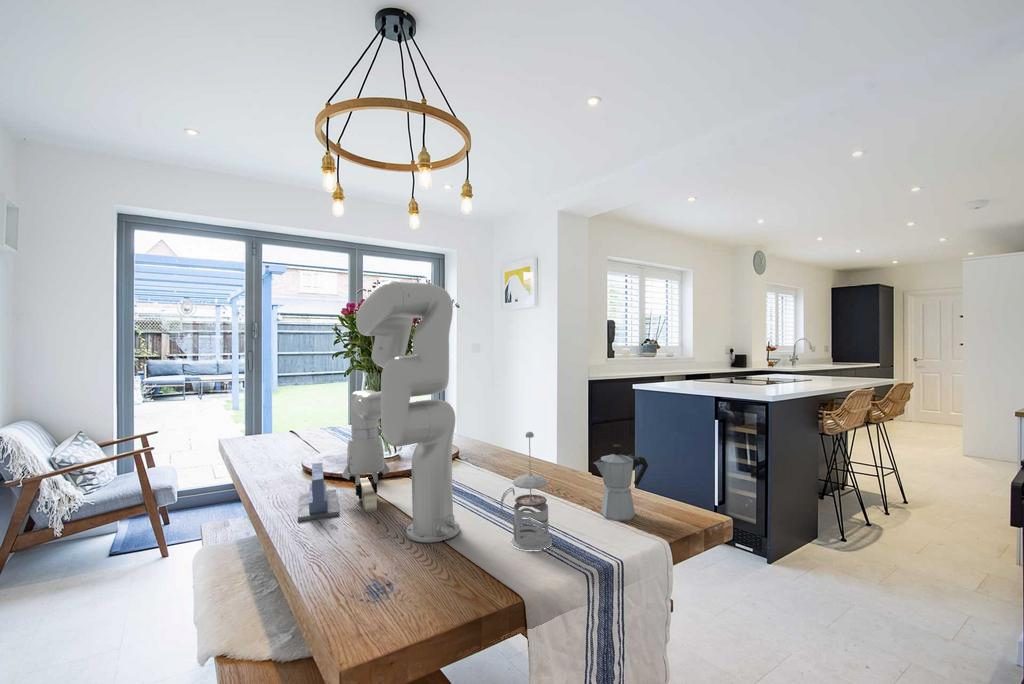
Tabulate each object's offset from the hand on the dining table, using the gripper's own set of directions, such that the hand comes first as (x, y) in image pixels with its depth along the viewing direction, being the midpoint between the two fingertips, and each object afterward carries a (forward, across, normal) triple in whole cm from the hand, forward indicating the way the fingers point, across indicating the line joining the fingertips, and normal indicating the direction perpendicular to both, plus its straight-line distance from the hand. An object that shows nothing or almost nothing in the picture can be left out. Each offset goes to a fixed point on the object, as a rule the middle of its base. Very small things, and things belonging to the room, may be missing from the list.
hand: (366, 496), depth 139 cm
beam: (+1, 0, 0) cm, 1 cm away
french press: (+1, -30, +46) cm, 55 cm away
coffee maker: (+1, -59, +41) cm, 72 cm away
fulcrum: (+1, +13, 0) cm, 13 cm away
